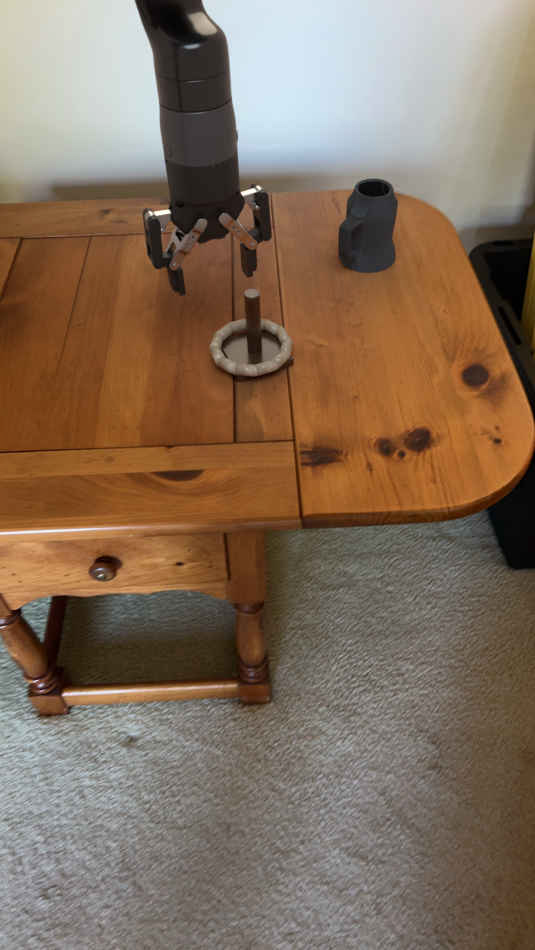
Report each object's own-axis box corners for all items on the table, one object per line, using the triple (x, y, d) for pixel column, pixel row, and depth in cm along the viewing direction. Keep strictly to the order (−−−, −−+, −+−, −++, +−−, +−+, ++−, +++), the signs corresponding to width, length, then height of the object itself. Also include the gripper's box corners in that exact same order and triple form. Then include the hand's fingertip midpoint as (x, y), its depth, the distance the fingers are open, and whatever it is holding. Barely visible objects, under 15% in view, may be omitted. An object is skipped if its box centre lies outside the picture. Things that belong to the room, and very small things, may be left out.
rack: (238, 382, 87) (233, 319, 79) (217, 346, 92) (211, 284, 84) (293, 365, 89) (294, 302, 81) (270, 331, 94) (268, 268, 86)
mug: (358, 234, 109) (364, 166, 100) (406, 252, 105) (417, 184, 96) (316, 268, 103) (318, 199, 94) (365, 288, 99) (372, 219, 91)
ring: (227, 387, 85) (226, 379, 84) (200, 337, 91) (198, 328, 90) (305, 364, 87) (305, 355, 86) (273, 316, 94) (273, 308, 93)
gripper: (251, 117, 70) (257, 252, 83) (122, 144, 67) (148, 281, 80) (279, 146, 66) (281, 284, 78) (142, 177, 63) (167, 316, 75)
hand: (214, 282), depth 79 cm, fingers open, 8 cm apart
